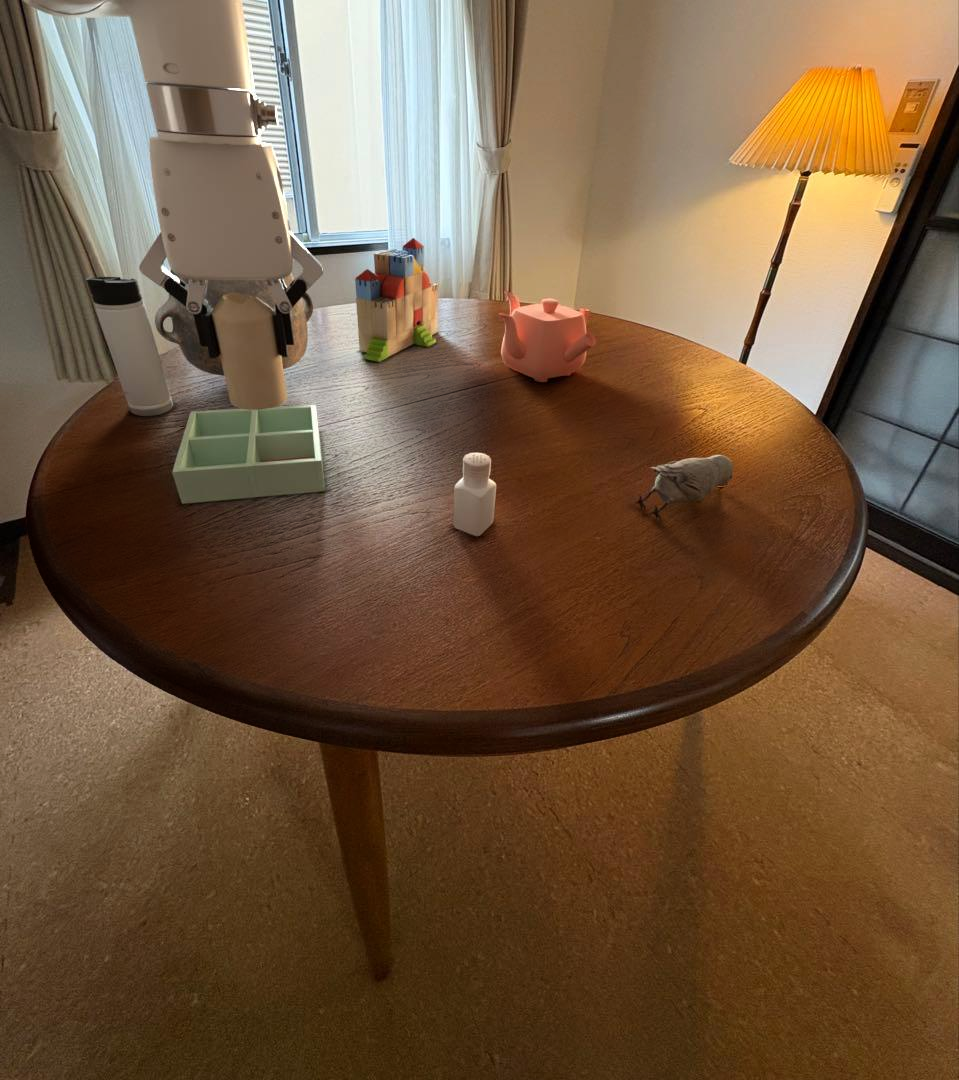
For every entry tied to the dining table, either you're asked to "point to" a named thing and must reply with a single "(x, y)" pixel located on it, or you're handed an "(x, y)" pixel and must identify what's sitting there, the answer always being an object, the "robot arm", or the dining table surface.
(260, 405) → the candle
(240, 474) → the grid
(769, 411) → the dining table surface
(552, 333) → the teapot
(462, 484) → the salt shaker
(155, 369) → the travel mug
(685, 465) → the decorative bird
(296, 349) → the jug
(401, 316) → the block set
